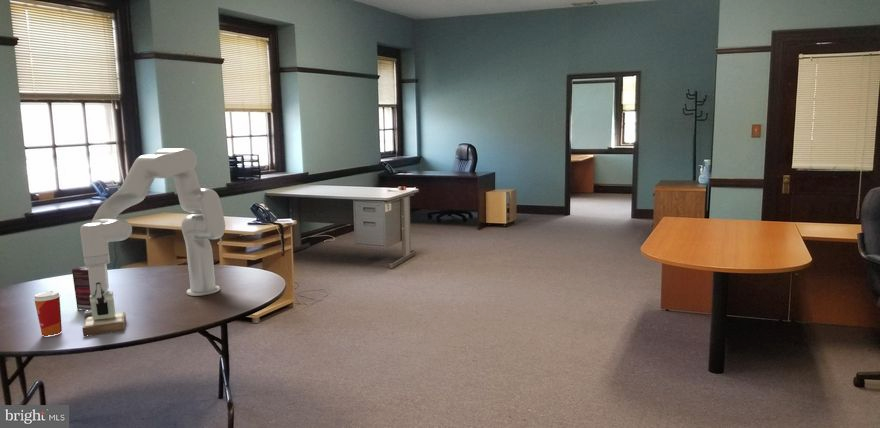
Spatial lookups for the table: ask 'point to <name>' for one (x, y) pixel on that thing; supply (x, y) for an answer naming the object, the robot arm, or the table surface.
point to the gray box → (87, 314)
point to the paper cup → (49, 312)
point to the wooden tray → (104, 325)
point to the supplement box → (82, 287)
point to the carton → (109, 302)
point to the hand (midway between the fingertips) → (103, 311)
